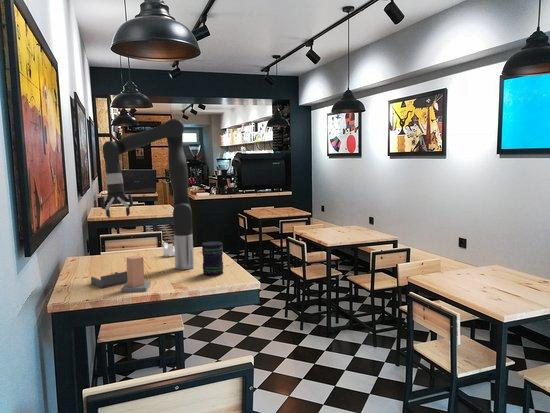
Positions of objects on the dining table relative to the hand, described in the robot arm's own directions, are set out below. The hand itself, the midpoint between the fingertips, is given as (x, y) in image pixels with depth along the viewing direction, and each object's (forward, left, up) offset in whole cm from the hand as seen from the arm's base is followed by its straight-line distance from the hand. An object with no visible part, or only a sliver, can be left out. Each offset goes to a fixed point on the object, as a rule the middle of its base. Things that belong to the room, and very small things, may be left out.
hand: (118, 216), depth 197 cm
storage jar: (-45, +8, -28) cm, 53 cm away
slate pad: (-13, +27, -28) cm, 41 cm away
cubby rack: (+1, +16, -28) cm, 32 cm away
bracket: (-22, -40, -29) cm, 54 cm away
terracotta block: (-13, +27, -27) cm, 40 cm away
